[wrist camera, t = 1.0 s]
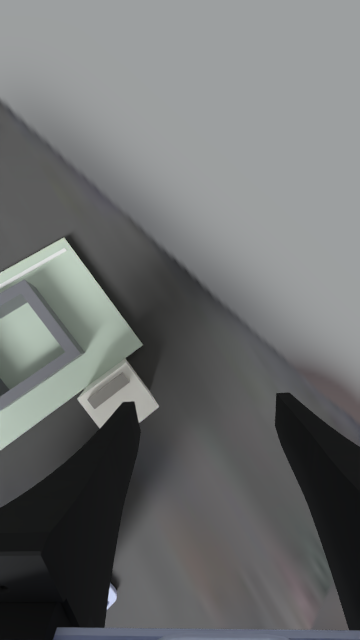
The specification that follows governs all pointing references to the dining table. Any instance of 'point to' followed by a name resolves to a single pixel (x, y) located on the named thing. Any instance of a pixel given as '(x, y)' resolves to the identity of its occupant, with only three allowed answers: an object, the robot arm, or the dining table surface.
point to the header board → (53, 336)
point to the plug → (117, 394)
